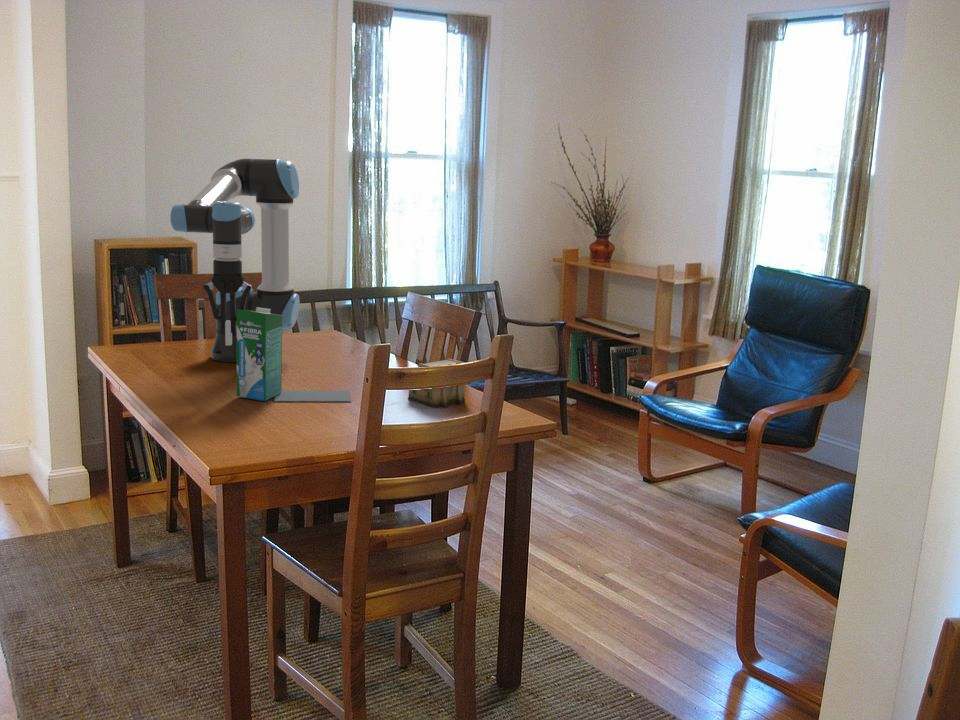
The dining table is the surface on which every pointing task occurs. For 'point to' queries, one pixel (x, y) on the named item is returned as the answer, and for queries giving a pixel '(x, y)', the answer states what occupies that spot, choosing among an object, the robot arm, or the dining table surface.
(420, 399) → the miniature house
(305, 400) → the mat
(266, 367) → the milk carton
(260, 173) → the robot arm
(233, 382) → the dining table surface
